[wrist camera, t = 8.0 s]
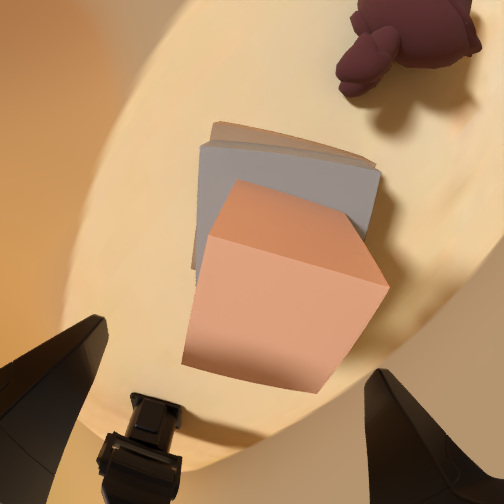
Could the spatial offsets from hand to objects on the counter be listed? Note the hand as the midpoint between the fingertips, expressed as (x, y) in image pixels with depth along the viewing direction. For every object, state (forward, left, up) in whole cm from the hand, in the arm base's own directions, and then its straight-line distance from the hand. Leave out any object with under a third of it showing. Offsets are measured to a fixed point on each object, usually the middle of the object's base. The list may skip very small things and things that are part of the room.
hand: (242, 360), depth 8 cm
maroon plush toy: (+16, -6, -12) cm, 21 cm away
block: (+1, -1, -6) cm, 6 cm away
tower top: (+1, -1, -9) cm, 9 cm away
